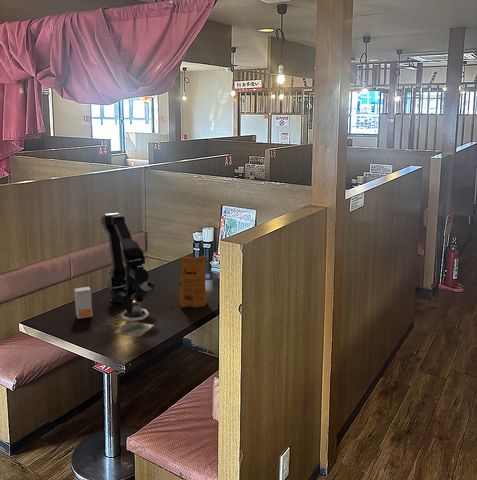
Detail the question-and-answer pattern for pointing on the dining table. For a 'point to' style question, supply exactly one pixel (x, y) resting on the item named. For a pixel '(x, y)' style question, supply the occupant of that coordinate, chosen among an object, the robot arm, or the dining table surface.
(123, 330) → the coaster board
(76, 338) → the dining table surface
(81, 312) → the skincare box
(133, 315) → the round spotlight head
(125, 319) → the collar
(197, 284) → the coffee package
